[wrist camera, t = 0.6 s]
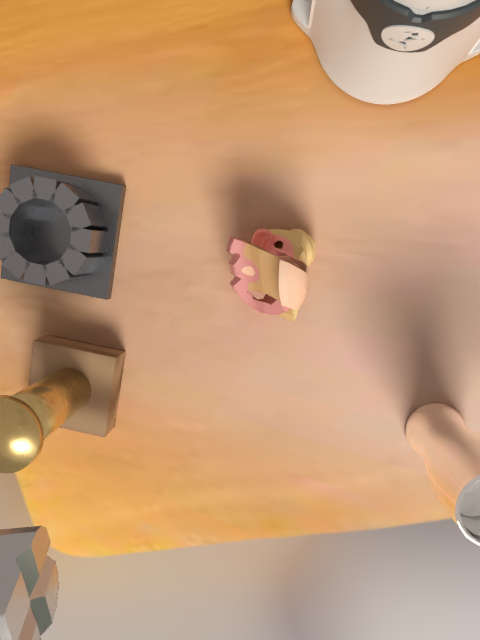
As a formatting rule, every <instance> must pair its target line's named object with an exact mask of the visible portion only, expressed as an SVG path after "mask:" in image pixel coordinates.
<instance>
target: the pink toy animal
mask: <svg viewBox="0 0 480 640" xmlns="http://www.w3.org/2000/svg"><path fill="white" fill-rule="evenodd" d="M315 246H316V242H315V240H314V239H313V238H312V237H310V236H309V235H308V234H307V233H306V232H305V231H304V230H302V229H291V230H289V231H288V230H284V229H264V228H260V229H256V231H255V232H254V234H253V236H252V241H251V243H249V242H246V241H244V240H242V239H238V238H234V237H230V240H229V242H228V246H227V250H226V251H228V252H229V253H231V254H234V256H233V257H232V259H231V260H230V262H229V263H230V268H231V273H232V274H233V275H235V278H234V279H233V280H232V281H231V282H230V284H231V286H232V288H233V289H234V291H235V292H236V294H237V295H238V296H239V297H240V298H241V299H242V300H243V301H244V302H245V303H246V304H248V305H249V306H251V307H252V308H254V309H256V310H258V311H260V312H262V313H265V314H271V315H277V314H278V315H280V316H281V317H283V318H285V319H287V320H290V321H293V322H295V319H296V316H297V313H298V311H299V308H300V306H301V305H302V303H303V302H304V299H305V297H306V294H307V289H308V268H307V267H308V266H309V265H310V264H311V262H312V261H313V260H314V258H315ZM277 247H282V249H278V248H277ZM249 290H255V291H258V292H260V293H264V294H266V295H265V297H264V299H256V298H255V297H253V296H252V295H251V294H250V293H249V292H248V291H249Z"/></svg>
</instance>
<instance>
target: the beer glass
mask: <svg viewBox="0 0 480 640" xmlns="http://www.w3.org/2000/svg"><path fill="white" fill-rule="evenodd" d="M406 438H407V440H408V443H409V444H410V446H411V447H412V448H413V449H414V450H415V451H416V452H417V453H418V454H420V455H421V456H422V457H423V460H424V463H425V467H426V471H427V474H428V478H429V480H430V483H431V486H432V488H433V490H434V492H435V494H436V496H437V497H438V499H439V501H440V502H441V504H442V505H443V507H444V508H445V510H446V511H447V513H448V514H449V515H450V517H451V518H452V519H453V520H454V522H455V523H456V524H457V525H458V526H459V528H460V530H461V531H462V532H463V534H464V535H465V536H466V537H467V538H468V539H469V540H471V541H472V542H474V543H475V544H477V545H479V546H480V433H478V432H476V431H474V430H472V429H470V428H468V427H467V426H466V424H465V422H464V420H463V418H462V417H461V415H460V414H459V413H458V412H457V411H456V410H455V409H454V408H452V407H450V406H448V405H445V404H441V403H430V404H426V405H423V406H421V407H419V408H418V409H416V410H415V411H414V412H413V413H412V414H411V415H410V417H409V419H408V421H407V424H406Z"/></svg>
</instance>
